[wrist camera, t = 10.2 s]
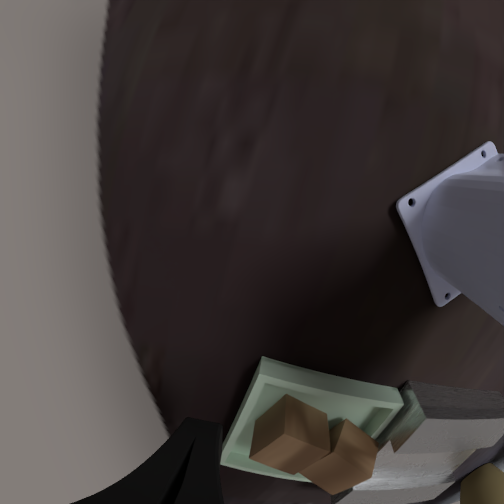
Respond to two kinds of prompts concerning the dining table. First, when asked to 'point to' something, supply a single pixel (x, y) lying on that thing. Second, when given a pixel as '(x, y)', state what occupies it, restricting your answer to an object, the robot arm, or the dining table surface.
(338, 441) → the chip
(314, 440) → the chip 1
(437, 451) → the slot block
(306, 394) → the tray
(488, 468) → the squeeze bottle
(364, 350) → the dining table surface
